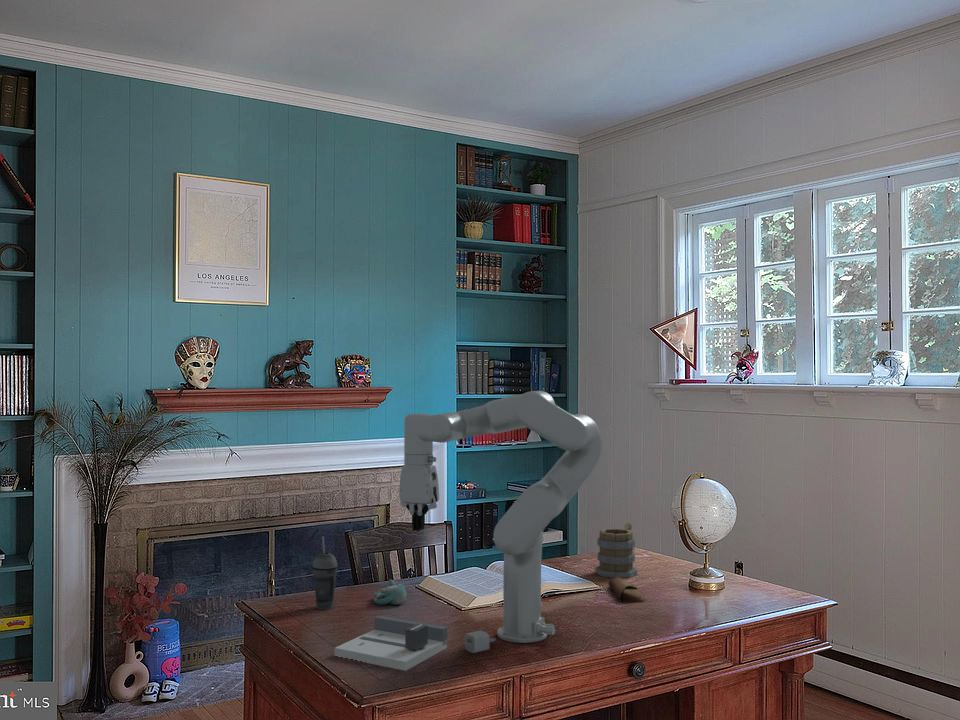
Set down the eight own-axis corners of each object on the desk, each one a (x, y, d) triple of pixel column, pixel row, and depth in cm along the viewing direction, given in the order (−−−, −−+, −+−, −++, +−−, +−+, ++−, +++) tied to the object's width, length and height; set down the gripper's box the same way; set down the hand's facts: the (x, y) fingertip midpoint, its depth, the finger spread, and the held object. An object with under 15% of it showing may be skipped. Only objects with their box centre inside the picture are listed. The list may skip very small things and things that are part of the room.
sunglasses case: (649, 602, 244) (637, 582, 244) (628, 614, 244) (616, 595, 244) (635, 586, 262) (624, 568, 262) (615, 598, 262) (605, 579, 262)
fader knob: (427, 644, 199) (427, 625, 199) (416, 650, 195) (416, 630, 195) (416, 642, 200) (417, 623, 201) (405, 648, 196) (405, 628, 196)
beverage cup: (320, 613, 233) (320, 540, 234) (307, 607, 239) (307, 536, 239) (342, 608, 238) (343, 537, 238) (329, 602, 244) (329, 533, 244)
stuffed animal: (389, 576, 253) (415, 575, 245) (392, 601, 252) (418, 600, 244) (360, 583, 246) (386, 582, 237) (363, 608, 244) (389, 608, 236)
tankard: (626, 580, 270) (626, 533, 271) (590, 574, 277) (590, 529, 277) (649, 568, 287) (649, 523, 287) (615, 563, 294) (615, 520, 294)
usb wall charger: (465, 649, 203) (465, 632, 203) (488, 644, 207) (488, 627, 207) (474, 654, 200) (474, 637, 200) (498, 648, 204) (498, 632, 204)
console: (447, 647, 204) (447, 626, 204) (405, 670, 188) (405, 648, 188) (379, 635, 214) (379, 615, 214) (334, 656, 198) (334, 634, 198)
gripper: (450, 460, 223) (449, 530, 222) (402, 457, 230) (402, 525, 229) (435, 463, 216) (435, 534, 216) (387, 460, 223) (386, 529, 223)
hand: (418, 529), depth 223 cm, fingers closed
